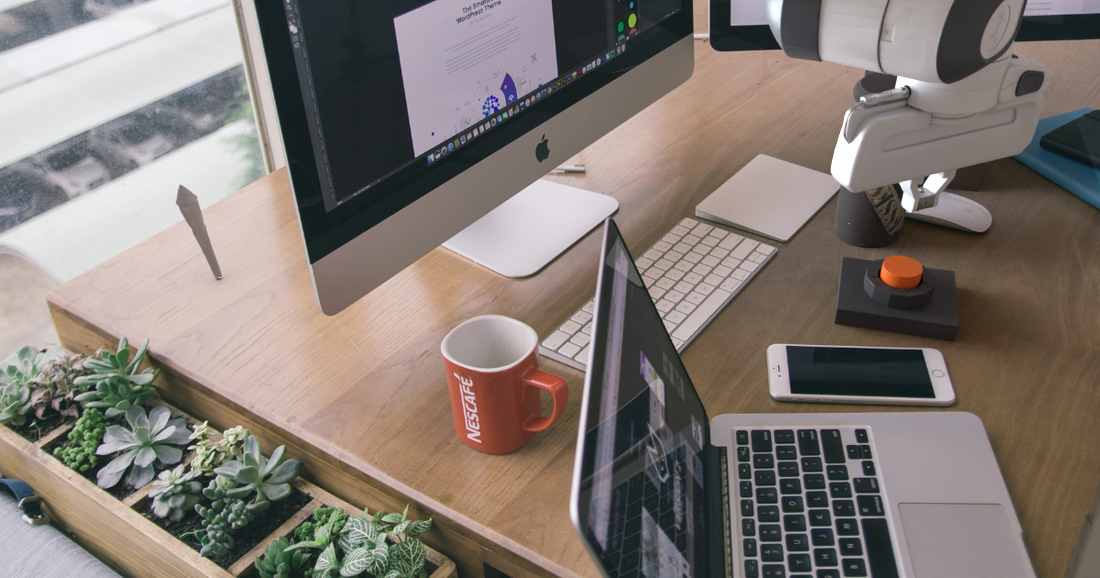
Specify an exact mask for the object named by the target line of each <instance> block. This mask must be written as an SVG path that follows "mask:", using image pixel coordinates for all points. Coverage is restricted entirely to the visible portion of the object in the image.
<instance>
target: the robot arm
mask: <svg viewBox="0 0 1100 578" xmlns="http://www.w3.org/2000/svg"><path fill="white" fill-rule="evenodd" d="M1028 1H1029V0H765V16H766V19H767V23H768V25H769V28H770V30H771V33H772V35H773V37H774V39H775V40H776V42H777V44H778V45H779V47H780V48H781V50H782V51H783V52H784V54H785V55H786V56H787V57H788V58H791V59H796V60H804V61H812V62H820V63H821V62H828V63H833V64H836V65H842V66H846V67H851V68H855V69H859V70H860V69H861V70H864V71H865V70H869V71H873V72H878V73H882V74H888V75H889V74H891V75H896V76H897V81H896V86H895V89H891V90H887V91H885V92H881V93H877V94H876V93H872V94H868V95H865V96H863V97H861V99H860V101H859V102H857V103H856V104H855V103H854V104H853V105H852V106H851V107H850V108H848V109H847V110H846V112H845V113H844V118H843V124H842V127H841V130H840V133H839V135H838V139H837V142H836V146H835V148H834V151H833V157H832V160H831V165H830V174H831V175H832V177H833V178H834V179H835V180H836V181H837V182H838V183H839V184H840V186H841V185H842V186H844V187H845V188H847V189H848V190H849V191H851V192H853V193H858V192H862V191H866V190H870V189H875V188H879V187H883V186H887V185H891V184H896V183H900V186H901V188H902V190H903V191H904V193H903V198H902V202H901V203H902V207H903V208H904V209H906V212H908V213H910V214H911V213H914V212H919V211H923V210H925V209H930V208H935V207H937V206H938V203H939V200H940V196H941V193H943V192H944V190H945V189H947V188H946V187H947V185H948V184H949V183H950V182H951V181H952V179H953V178H954V177H955V174H956V170H957V169H959V168H963V167H967V166H971V165H976V164H980V163H984V162H986V163H989V162H992V161H997V160H1000V159H1005V158H1009V157H1013V156H1018V155H1020V154H1022V152H1024V151H1025V150H1026V148H1027V147H1028V146H1029V145H1030V144H1031V143H1032V140H1033V138H1034V136H1035V133H1036V130H1037V128H1038V124H1039V121H1040V118H1041V114H1042V111H1043V107H1044V94H1043V93H1042V92H1044V91H1046V90H1047V89H1048V88H1049V86H1050V83H1051V81H1052V79H1053V75H1054V71H1053V70H1052V69H1051V68H1048V67H1047V66H1046V65H1044V64H1042V63H1040V62H1038V61H1036V60H1034V59H1031V58H1029V57H1027V56H1025V55H1022V54H1019V53H1017V52H1015V51H1014V49H1015V39H1016V38H1017V35H1018V33H1019V30H1020V27H1021V25H1022V22H1023V18H1024V15H1025V11H1026V8H1027V4H1028ZM859 106H860V107H859ZM929 175H930V176H929ZM925 176H929V178H928V179H927V181H926V182H925V184H924V185H923V186H919V187H918V185H921V184H922V183H923V180H924V177H925ZM917 184H918V185H917Z"/></svg>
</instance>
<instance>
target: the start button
mask: <svg viewBox="0 0 1100 578" xmlns="http://www.w3.org/2000/svg"><path fill="white" fill-rule="evenodd" d="M884 259H885V260H884V262H883V265H882V270H881V274H880V278H881V280H882V282H883V283H885V284H887V285H889V286H891V287H893V288H898V289H906V290H907V289H912V288H916V287H917V286H918V285H919V283H920V279H921V275H922V271H923V267H922V265H923V264H921V262H919V261H917V260H916V259H914V258H912V257H909V256H905V255H892V256H889V257H886V258H884Z"/></svg>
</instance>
